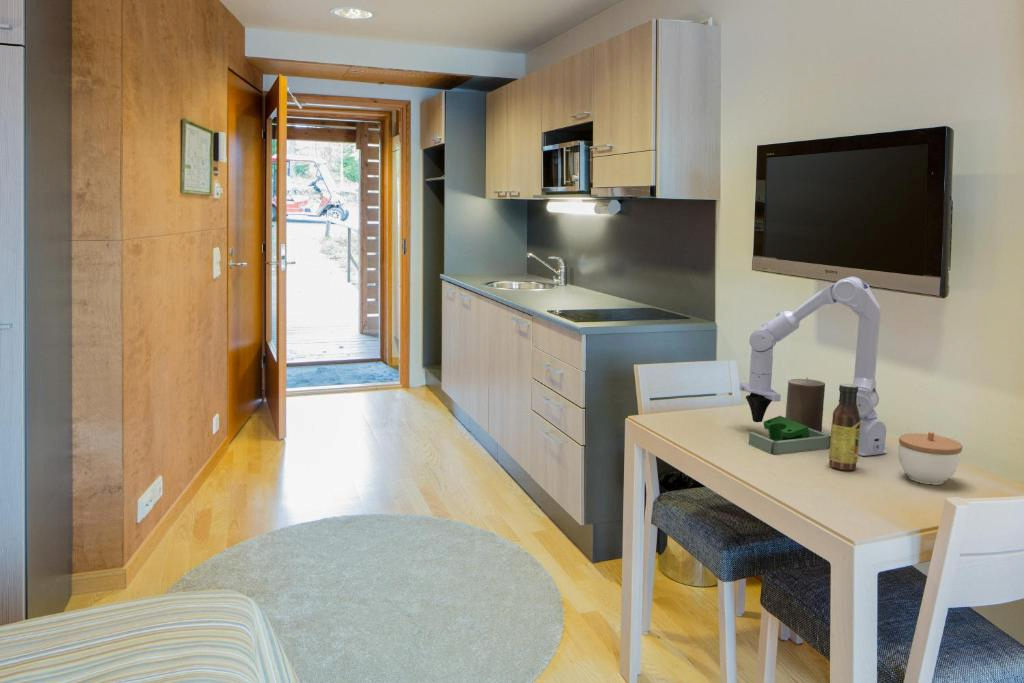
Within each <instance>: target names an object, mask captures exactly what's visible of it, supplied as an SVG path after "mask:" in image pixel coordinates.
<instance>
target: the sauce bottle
mask: <svg viewBox="0 0 1024 683" xmlns="http://www.w3.org/2000/svg"><path fill="white" fill-rule="evenodd" d="M838 390H839V399H838V404H837V406H835V408H834V410H833V412H832V423H831V427H830V436H831V439H830V448H829V452H828V454H829V456H828V460H829V463H828V464H829V466H830V467H831V468H833V469H836V470H841V471H853V470H855V469H856V468H857V463H858V460H859V459H858V458H859V454H858V448H859V437H860V423H861V418H860V415H859V411H858V407H857V404H856V403H857V402H856V399H857V392H858V386H857V385H853V383H852V384H850V383H840V384H839V388H838Z"/></svg>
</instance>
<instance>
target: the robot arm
mask: <svg viewBox="0 0 1024 683" xmlns="http://www.w3.org/2000/svg"><path fill="white" fill-rule="evenodd" d="M835 303H839V304H840V305H843V306H846V307H848V308H850V309H851V311H852V312H854V314H855V315H857V316H858V326H857V339H856V351H855V361H854V362H855V364H854V372H853V373H854V375H853V380H852V384H853V385H857V386H858V392H857V399H856V402H857V403H856V404H857V407H858V411H859V415H860V418H861V423H860V437H859V448H858V456H862V457H868V456H873V455H874V456H875V455H883V454H884V455H885V454H887V453H888V452H887V451H886V450H885V448H886V436H887V427H886V424H885V423H884V422H882V421H880V420H879V418H878V413H877V412H876V411H875V409H876V407H877V406H878V404H879V403H880V402H879V400H880V397H879V394H878V392H877V382H876V370H877V359H878V350H879V349H878V346H879V337H880V336H879V335H880V325H881V324H880V323H881V316H882V315H881V312H882V310H881V309H882V308H881V306H880V304H879V302H878V301H877V300H876V298H875V296H874V294H873V292H872V290H871V288H870V285H869V284H868V283H866V282H865V281H864V280H862V278H859V277H857V276H848V277H845V278H841V279H839V280H838V281H836V282H835V283H832V284H830V285H828V286H826V287H825V288H823V289H820V290H819V291H818V292H817V293H815V294H814V295H813V296H811V297H810V298H809V299H807V300H806V301H805V302H803V303H802V304H801V305H799V306H798V307H797V308H796V309H794V310H792V311H790V310H784V311H783V312H782V311H779V312H777V313H776V314H775V317H774V318H773V319H771V320H769V322H764V323H762V324H761V327H762V328H759V329H756V330H755V329H754V331H753V332H752V333H751V334H750V336H749V339H748V342H749V343H748V344H749V346H750V347H751V352H750V360H749V361H750V364H749V375H748V376H749V377H748V378H749V380H748V383H747V382H743V383H739V391H741V392H747V393H750V394H749V395H746V396H745V400H746V401H747V403H748V406H749V408H750V412H751V417H752V422H754V423H763V420H764V418H765V415H766V411H767V409H768V408H769V405H770V404H771V403H772V402H774V403H775V402H781V396H782V395H781V393H779V392H777V391H775V390H774V389H772V377H773V362H774V361H773V360H774V356H773V355H774V347H775V346H776V344H777V343H778V342H779V343H780V342H781V341H782V340H784V339H785V338H786V337H788V336H789V335H791V334H793V333H794V332H795V331H797V330H798V329H799V327H800V323H801V321H802V320H804V319H805V318H806V317H808V316H810V315H811V314H813V313H814V312H816V311H817V310H819V309H820V308H822V307H823V306H825V305H830V304H831V305H832V304H835Z"/></svg>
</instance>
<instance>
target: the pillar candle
mask: <svg viewBox="0 0 1024 683" xmlns="http://www.w3.org/2000/svg"><path fill="white" fill-rule="evenodd" d="M825 392H826V383H825V382H824V381H821V380H816V379H808V377H806V378H791V379H789V380H787V393H786V394H787V395H786V404H785V405H786V407H785V416H784V417H785V418H787V419H790V420H792V421H795V422H798V423H800V424H803V425H805V426H808V428H811V429H813V430H816V431H819V432H822V430H823V429H822V428H823V416H824V405H825V404H824V403H825V401H824V400H825Z"/></svg>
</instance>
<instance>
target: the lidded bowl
mask: <svg viewBox="0 0 1024 683" xmlns="http://www.w3.org/2000/svg"><path fill="white" fill-rule="evenodd" d="M898 443H899V445H898V458H899V464H900V466H901V468H902V470H903V471H904V472H905V474H906V475H907V476H908V478H909V480H911V481H913V480H914V481H913V482H916V483H919V482H920V484H923V483H924V484H923V485H929V484H933V486H937V485H939V486H941V485H943V484H945V482H946V481H948V480H949V479H951V478H952V477H953V476H954V475H955V474H956V472H957V470H958V468H959V464H960V460H961V455H962V454H961V453H962V451H963V444H962V443H961V442H959V441H957V440H955V439H952V438H949V437H946V436H942V435H936V434H935V432H933V431H928V433H919V432H918V433H915V432H914V433H912V432H911V433H904V434H901V435H900V436H899V438H898Z"/></svg>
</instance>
